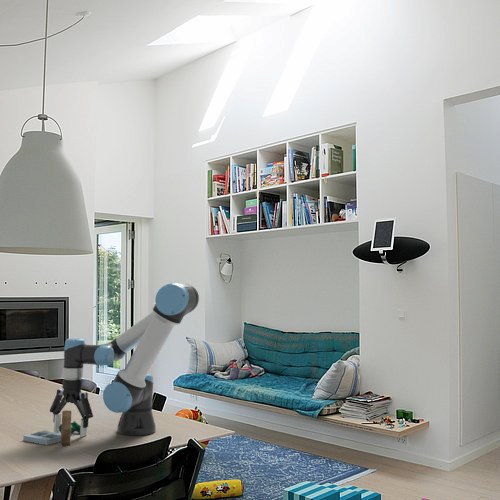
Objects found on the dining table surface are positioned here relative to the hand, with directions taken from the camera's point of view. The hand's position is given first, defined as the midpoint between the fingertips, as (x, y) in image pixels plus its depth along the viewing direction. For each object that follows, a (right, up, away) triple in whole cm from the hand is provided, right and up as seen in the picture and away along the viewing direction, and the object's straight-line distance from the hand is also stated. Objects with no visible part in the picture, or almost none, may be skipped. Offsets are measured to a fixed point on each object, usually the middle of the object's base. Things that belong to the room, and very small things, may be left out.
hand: (70, 433), depth 240 cm
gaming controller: (0, 0, 0) cm, 0 cm away
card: (0, 0, 0) cm, 0 cm away
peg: (+3, +1, -16) cm, 17 cm away
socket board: (-6, +1, -10) cm, 12 cm away
